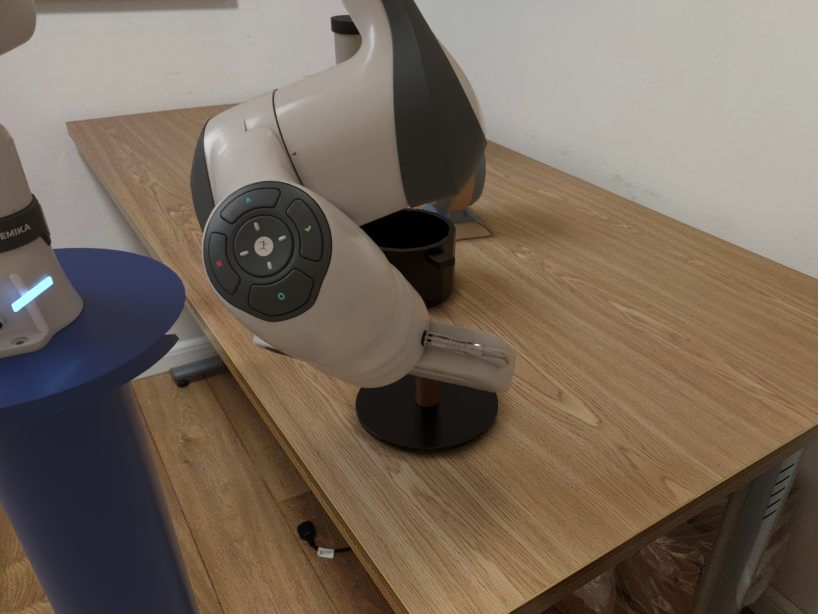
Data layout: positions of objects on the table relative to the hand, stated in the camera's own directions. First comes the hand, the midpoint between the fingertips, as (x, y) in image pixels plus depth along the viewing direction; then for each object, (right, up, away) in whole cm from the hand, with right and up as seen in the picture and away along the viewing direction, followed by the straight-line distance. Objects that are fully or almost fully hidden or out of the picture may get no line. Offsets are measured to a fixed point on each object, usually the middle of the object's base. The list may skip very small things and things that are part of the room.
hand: (415, 362), depth 63 cm
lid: (+1, -4, +7) cm, 8 cm away
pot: (-4, +10, +29) cm, 31 cm away
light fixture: (-16, +42, +77) cm, 89 cm away
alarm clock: (+2, +21, +47) cm, 52 cm away
